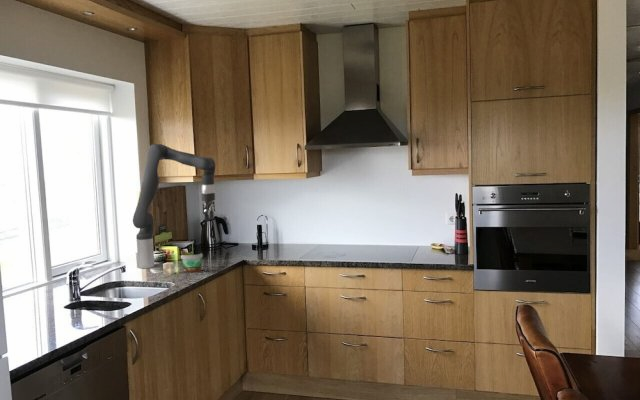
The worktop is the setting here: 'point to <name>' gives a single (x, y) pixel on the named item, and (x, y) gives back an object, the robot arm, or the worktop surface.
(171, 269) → the birch block
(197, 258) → the food container
